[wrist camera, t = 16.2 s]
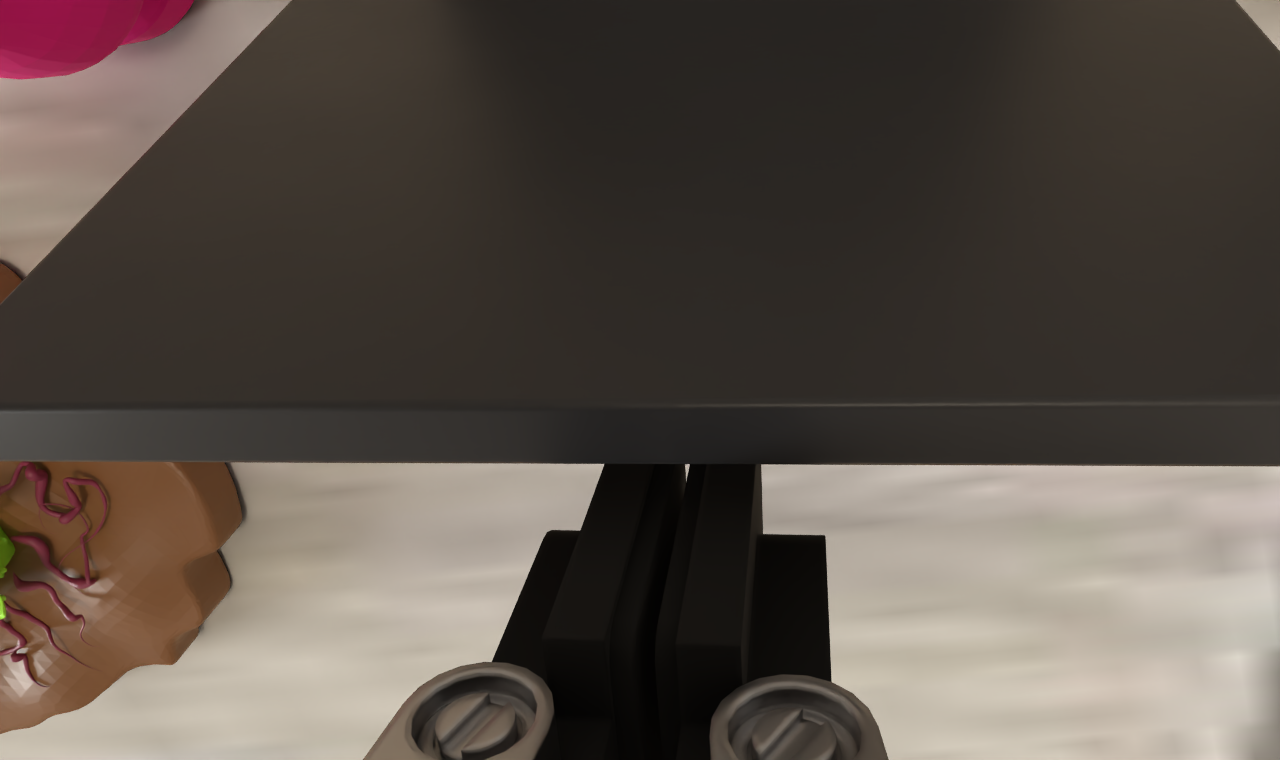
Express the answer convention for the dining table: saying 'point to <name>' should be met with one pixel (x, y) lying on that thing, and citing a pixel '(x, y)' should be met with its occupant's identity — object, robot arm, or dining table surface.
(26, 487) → the plant
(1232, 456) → the lid
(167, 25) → the pepper mill
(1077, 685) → the dining table surface
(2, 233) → the dining table surface
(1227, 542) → the dining table surface
